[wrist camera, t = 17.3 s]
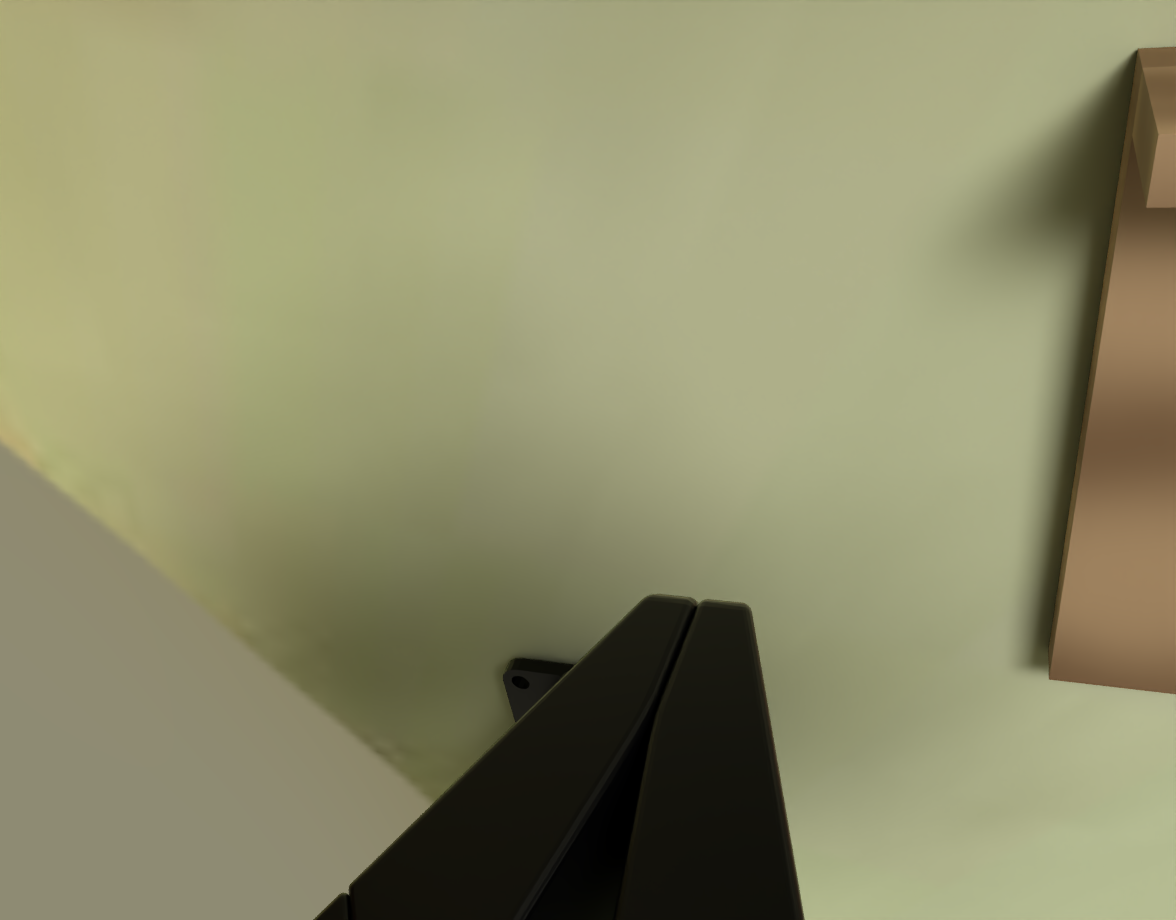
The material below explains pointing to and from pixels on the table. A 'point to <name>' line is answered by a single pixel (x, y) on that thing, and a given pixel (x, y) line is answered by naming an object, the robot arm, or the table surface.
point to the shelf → (1129, 426)
